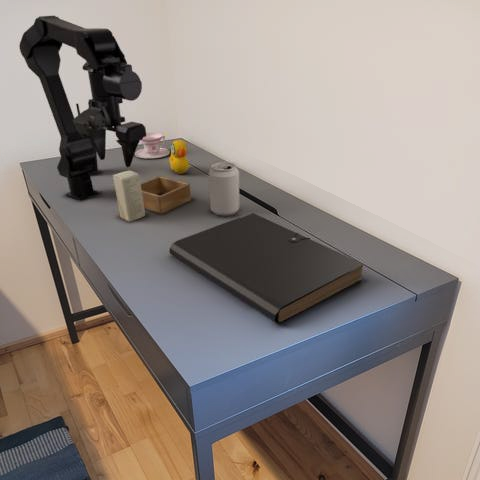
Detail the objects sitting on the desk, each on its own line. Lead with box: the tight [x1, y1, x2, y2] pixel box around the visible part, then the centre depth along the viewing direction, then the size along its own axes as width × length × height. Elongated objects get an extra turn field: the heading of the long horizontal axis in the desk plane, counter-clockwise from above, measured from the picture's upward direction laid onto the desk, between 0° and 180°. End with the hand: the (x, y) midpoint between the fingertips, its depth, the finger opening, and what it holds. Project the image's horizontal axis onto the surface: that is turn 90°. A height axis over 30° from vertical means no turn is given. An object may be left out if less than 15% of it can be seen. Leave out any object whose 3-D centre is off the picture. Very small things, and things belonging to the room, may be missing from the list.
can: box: [208, 161, 240, 217], centre depth 121 cm, size 8×8×12 cm
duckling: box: [169, 139, 190, 175], centre depth 147 cm, size 11×5×10 cm, turn 22°
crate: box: [140, 175, 192, 215], centre depth 129 cm, size 11×11×4 cm
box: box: [112, 169, 146, 222], centre depth 119 cm, size 5×4×11 cm
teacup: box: [134, 132, 171, 159], centre depth 164 cm, size 12×12×6 cm
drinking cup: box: [75, 103, 99, 176], centre depth 144 cm, size 8×8×20 cm
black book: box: [169, 212, 365, 324], centre depth 99 cm, size 33×4×24 cm
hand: (115, 163), depth 118 cm, fingers open, 9 cm apart
